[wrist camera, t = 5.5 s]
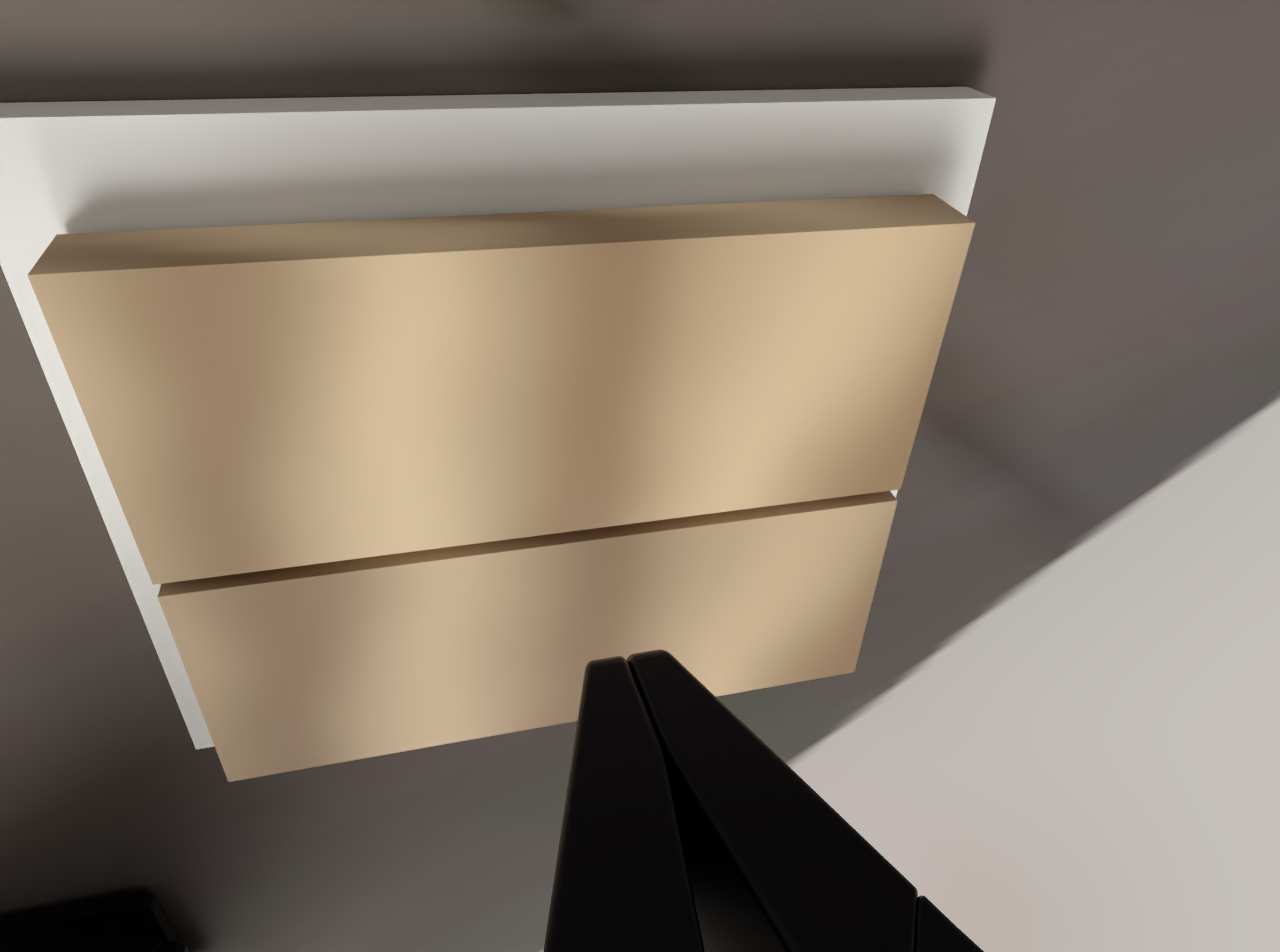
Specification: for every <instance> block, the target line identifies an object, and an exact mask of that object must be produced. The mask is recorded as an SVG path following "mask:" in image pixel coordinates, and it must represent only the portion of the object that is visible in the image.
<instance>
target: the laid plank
mask: <svg viewBox="0 0 1280 952" xmlns="http://www.w3.org/2000/svg"><path fill="white" fill-rule="evenodd" d="M897 501H898V500H897V499H896V498H895V496H894V495H893V494H892V493H891V492H890V491H884V492H876V493H868V494H860V495H852V496H844V497H837V498H829V499H821V500H813V501H805V502H797V503H790V504H782V505H774V506H766V507H758V508H750V509H743V510H735V511H727V512H719V513H711V514H703V515H696V516H688V517H680V518H672V519H664V520H656V521H649V522H641V523H633V524H625V525H617V526H609V527H602V528H594V529H586V530H578V531H570V532H562V533H555V534H547V535H539V536H531V537H523V538H515V539H507V540H500V541H492V542H484V543H476V544H468V545H460V546H453V547H445V548H437V549H429V550H421V551H413V552H406V553H398V554H390V555H382V556H374V557H366V558H359V559H351V560H343V561H335V562H327V563H319V564H312V565H304V566H296V567H288V568H280V569H272V570H265V571H257V572H249V573H241V574H233V575H225V576H218V577H210V578H202V579H194V580H186V581H178V582H170V583H163V584H161V587H160V590H159V594H158V599H159V602H160V605H161V607H162V610H163V613H164V615H165V618H166V620H167V623H168V626H169V628H170V631H171V633H172V636H173V639H174V641H175V644H176V647H177V649H178V652H179V654H180V657H181V660H182V662H183V665H184V667H185V670H186V673H187V675H188V678H189V680H190V683H191V686H192V688H193V691H194V694H195V696H196V699H197V701H198V704H199V707H200V709H201V712H202V714H203V717H204V720H205V722H206V725H207V727H208V730H209V733H210V735H211V738H212V741H213V743H214V746H215V748H216V751H217V754H218V756H219V759H220V761H221V764H222V767H223V769H224V772H225V774H226V777H227V780H228V782H232V781H238V780H244V779H249V778H255V777H261V776H266V775H272V774H278V773H283V772H289V771H295V770H300V769H306V768H312V767H317V766H323V765H329V764H335V763H340V762H346V761H352V760H357V759H363V758H369V757H374V756H380V755H386V754H391V753H397V752H403V751H408V750H414V749H420V748H426V747H431V746H437V745H443V744H448V743H454V742H460V741H465V740H471V739H477V738H482V737H488V736H494V735H499V734H505V733H511V732H516V731H522V730H528V729H534V728H539V727H545V726H551V725H556V724H562V723H568V722H573V721H577V720H578V713H579V706H580V699H581V693H582V686H583V679H584V672H585V667H586V665H587V663H588V662H589V661H592V660H598V659H604V658H610V657H616V656H622V657H624V658H625V659H626V660H627V658H628V657H629V656H630V655H631V654H634V653H641V652H647V651H653V650H665V651H668V652H669V653H670V654H672V655H673V656H674V657H675V658H676V659H677V660H678V661H679V662H680V663H681V664H682V665H683V666H684V667H685V668H686V669H687V670H688V671H689V672H690V673H691V674H693V675H694V676H695V677H696V678H697V679H698V680H699V681H700V682H701V683H702V684H703V685H704V686H705V687H706V688H707V689H708V690H709V691H710V692H711V693H712V694H713V695H714V696H721V695H727V694H733V693H738V692H744V691H750V690H755V689H761V688H767V687H772V686H778V685H784V684H789V683H795V682H801V681H806V680H812V679H818V678H824V677H829V676H835V675H841V674H846V673H852V672H854V671H855V667H856V663H857V659H858V655H859V651H860V647H861V643H862V639H863V635H864V631H865V627H866V623H867V619H868V615H869V611H870V608H871V604H872V600H873V596H874V592H875V588H876V584H877V580H878V576H879V572H880V568H881V564H882V560H883V556H884V552H885V548H886V544H887V540H888V537H889V533H890V529H891V525H892V521H893V517H894V513H895V509H896V505H897Z"/></svg>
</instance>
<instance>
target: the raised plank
mask: <svg viewBox="0 0 1280 952" xmlns="http://www.w3.org/2000/svg"><path fill="white" fill-rule="evenodd" d="M974 226H975V222H974V221H972V220H971V219H969V218H968V217H966V216H965V215H963V214H962V213H961V212H959V211H958V210H956V209H955V208H953V207H952V206H950V205H949V204H947V203H946V202H944V201H943V200H942V199H940V198H939V197H937V196H936V195H934V194H919V195H897V196H876V197H854V198H832V199H811V200H789V201H768V202H746V203H724V204H703V205H681V206H660V207H638V208H617V209H595V210H573V211H552V212H530V213H509V214H487V215H465V216H444V217H422V218H401V219H379V220H357V221H336V222H314V223H293V224H271V225H249V226H228V227H206V228H185V229H163V230H142V231H120V232H98V233H77V234H57V235H56V236H55V237H54V239H53V240H52V242H51V243H50V244H49V246H48V247H47V248H46V250H45V251H44V253H43V254H42V255H41V257H40V258H39V260H38V261H37V262H36V264H35V265H34V266H33V268H32V269H31V271H30V272H29V273H28V278H29V280H30V283H31V285H32V288H33V290H34V293H35V295H36V298H37V300H38V302H39V305H40V307H41V310H42V312H43V315H44V317H45V320H46V322H47V325H48V327H49V330H50V332H51V335H52V337H53V339H54V342H55V344H56V347H57V349H58V352H59V354H60V357H61V359H62V362H63V364H64V367H65V369H66V372H67V374H68V377H69V379H70V381H71V384H72V386H73V389H74V391H75V394H76V396H77V399H78V401H79V404H80V406H81V409H82V411H83V414H84V416H85V418H86V421H87V423H88V426H89V428H90V431H91V433H92V436H93V438H94V441H95V443H96V446H97V448H98V451H99V453H100V456H101V458H102V460H103V463H104V465H105V468H106V470H107V473H108V475H109V478H110V480H111V483H112V485H113V488H114V490H115V493H116V495H117V497H118V500H119V502H120V505H121V507H122V510H123V512H124V515H125V517H126V520H127V522H128V525H129V527H130V530H131V532H132V535H133V537H134V539H135V542H136V544H137V547H138V549H139V552H140V554H141V557H142V559H143V562H144V564H145V567H146V569H147V572H148V574H149V576H150V579H151V581H152V584H153V585H155V584H163V583H170V582H178V581H186V580H194V579H202V578H210V577H218V576H225V575H233V574H241V573H249V572H257V571H265V570H272V569H280V568H288V567H296V566H304V565H312V564H319V563H327V562H335V561H343V560H351V559H359V558H366V557H374V556H382V555H390V554H398V553H406V552H413V551H421V550H429V549H437V548H445V547H453V546H460V545H468V544H476V543H484V542H492V541H500V540H507V539H515V538H523V537H531V536H539V535H547V534H555V533H562V532H570V531H578V530H586V529H594V528H602V527H609V526H617V525H625V524H633V523H641V522H649V521H656V520H664V519H672V518H680V517H688V516H696V515H703V514H711V513H719V512H727V511H735V510H743V509H750V508H758V507H766V506H774V505H782V504H790V503H797V502H805V501H813V500H821V499H829V498H837V497H844V496H852V495H860V494H868V493H876V492H884V491H891V490H899V489H901V486H902V482H903V479H904V475H905V471H906V468H907V464H908V461H909V457H910V454H911V450H912V447H913V443H914V439H915V436H916V432H917V429H918V425H919V422H920V418H921V415H922V411H923V407H924V404H925V400H926V397H927V393H928V390H929V386H930V383H931V379H932V376H933V372H934V368H935V365H936V361H937V358H938V354H939V351H940V347H941V344H942V340H943V336H944V333H945V329H946V326H947V322H948V319H949V315H950V312H951V308H952V305H953V301H954V297H955V294H956V290H957V287H958V283H959V280H960V276H961V273H962V269H963V265H964V262H965V258H966V255H967V251H968V248H969V244H970V241H971V237H972V233H973V230H974Z"/></svg>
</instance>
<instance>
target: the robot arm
mask: <svg viewBox="0 0 1280 952" xmlns="http://www.w3.org/2000/svg"><path fill="white" fill-rule="evenodd" d="M917 896H918V893H917V889H916V888H915V887H914V886H913V885H912V884H911V883H910V882H909V881H908V880H907V879H906V878H905V877H904V876H903V875H902V874H901V873H900V872H899V871H897V870H896V869H895V868H894V867H893V866H892V865H891V864H890V863H889V862H888V861H887V860H886V859H885V858H884V857H883V856H882V855H881V854H880V853H878V851H877V850H875V849H874V848H873V847H872V846H871V845H870V844H869V843H868V842H867V841H866V840H865V839H864V838H863V837H862V836H861V835H860V834H859V833H858V832H857V831H856V830H855V829H853V828H852V827H851V826H850V825H849V824H848V823H847V822H846V821H845V820H844V819H843V818H842V817H841V816H840V815H839V814H838V813H837V812H836V811H835V810H834V809H833V808H831V807H830V805H828V804H827V803H826V802H825V801H824V800H823V799H822V798H821V797H820V796H819V795H818V794H817V793H816V792H815V791H814V790H813V789H812V788H811V787H810V786H809V785H808V784H806V783H805V782H804V781H803V780H802V779H801V778H800V777H799V776H798V775H797V774H796V773H795V772H794V771H793V770H792V769H791V768H790V767H789V766H788V765H787V764H786V763H785V762H783V761H782V760H781V759H780V758H779V757H778V756H777V755H776V754H775V753H774V752H773V751H772V750H771V749H770V748H769V747H768V746H767V745H766V744H765V743H764V742H763V741H762V740H760V739H759V738H758V737H757V736H756V735H755V734H754V733H753V732H752V731H751V730H750V729H749V728H748V727H747V726H746V725H745V724H744V723H743V722H742V721H741V720H740V719H739V718H737V717H736V716H735V715H734V714H733V713H732V712H731V711H730V710H729V709H728V708H727V707H726V706H725V705H724V704H723V703H722V702H721V701H720V700H719V699H718V698H717V697H716V696H714V695H713V694H712V693H711V692H710V691H709V690H708V689H707V688H706V687H705V686H704V685H703V684H702V683H701V682H700V681H699V680H698V679H697V678H696V677H695V676H694V675H693V674H691V673H690V672H689V671H688V670H687V669H686V668H685V667H684V666H683V665H682V664H681V663H680V662H679V661H678V660H677V659H676V658H675V657H674V656H673V655H672V654H670V653H669V652H668V651H665V650H653V651H647V652H641V653H634V654H631V655H630V656H629V657H628V658H627V660H626V659H625V658H624V657H622V656H616V657H610V658H604V659H598V660H592V661H589V662H588V663H587V665H586V667H585V672H584V679H583V686H582V693H581V699H580V706H579V713H578V720H577V727H576V734H575V740H574V747H573V754H572V761H571V768H570V775H569V781H568V788H567V795H566V802H565V809H564V816H563V823H562V829H561V836H560V843H559V850H558V857H557V864H556V870H555V877H554V884H553V891H552V898H551V905H550V911H549V918H548V925H547V932H546V939H545V946H544V952H984V951H983V950H981V949H980V948H979V947H978V946H977V945H976V944H975V943H974V942H973V941H972V940H970V939H969V938H968V937H967V936H966V935H965V934H964V933H963V932H962V931H961V930H960V929H958V928H957V927H956V926H955V925H954V924H953V923H952V922H951V921H950V920H949V919H948V918H947V917H946V916H945V915H944V914H943V913H942V912H940V910H939V909H937V908H936V907H935V906H934V905H933V904H932V903H931V902H930V901H929V900H928V899H927V898H926V897H925V896H919V897H918V898H917ZM0 952H189V950H188V948H187V946H186V945H184V944H183V943H182V942H181V941H180V940H178V939H177V937H176V935H175V933H174V931H173V929H172V928H171V926H170V924H169V922H168V920H167V918H166V916H165V914H164V912H163V910H162V908H161V907H160V905H159V903H158V901H157V899H156V898H155V897H154V896H153V895H151V894H148V893H142V892H136V893H129V894H123V895H118V896H113V897H108V898H103V899H98V900H93V901H88V902H83V903H78V904H73V905H68V906H63V907H58V908H52V909H47V910H42V911H37V912H32V913H27V914H22V915H17V916H12V917H7V918H2V919H0Z"/></svg>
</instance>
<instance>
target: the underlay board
mask: <svg viewBox="0 0 1280 952" xmlns="http://www.w3.org/2000/svg"><path fill="white" fill-rule="evenodd" d="M995 101H996V98H995V97H992V96H990V95H987V94H984V93H982V92H979V91H977V90H974V89H972V88H969V87H922V88H862V89H801V90H741V91H681V92H621V93H560V94H500V95H440V96H380V97H319V98H259V99H199V100H139V101H78V102H18V103H0V265H1V267H2V270H3V272H4V275H5V277H6V280H7V282H8V285H9V287H10V290H11V292H12V295H13V297H14V300H15V302H16V304H17V307H18V309H19V312H20V314H21V317H22V319H23V322H24V324H25V327H26V329H27V332H28V334H29V337H30V339H31V342H32V344H33V347H34V349H35V352H36V354H37V357H38V359H39V362H40V364H41V366H42V369H43V371H44V374H45V376H46V379H47V381H48V384H49V386H50V389H51V391H52V394H53V396H54V399H55V401H56V404H57V406H58V409H59V411H60V414H61V416H62V419H63V421H64V423H65V426H66V428H67V431H68V433H69V436H70V438H71V441H72V443H73V446H74V448H75V451H76V453H77V456H78V458H79V461H80V463H81V466H82V468H83V471H84V473H85V476H86V478H87V480H88V483H89V485H90V488H91V490H92V493H93V495H94V498H95V500H96V503H97V505H98V508H99V510H100V513H101V515H102V518H103V520H104V523H105V525H106V528H107V530H108V533H109V535H110V538H111V540H112V542H113V545H114V547H115V550H116V552H117V555H118V557H119V560H120V562H121V565H122V567H123V570H124V572H125V575H126V577H127V580H128V582H129V585H130V587H131V590H132V592H133V595H134V597H135V599H136V602H137V604H138V607H139V609H140V612H141V614H142V617H143V619H144V622H145V624H146V627H147V629H148V632H149V634H150V637H151V639H152V642H153V644H154V647H155V649H156V652H157V654H158V657H159V659H160V661H161V664H162V666H163V669H164V671H165V674H166V676H167V679H168V681H169V684H170V686H171V689H172V691H173V694H174V696H175V699H176V701H177V704H178V706H179V709H180V711H181V714H182V716H183V718H184V721H185V723H186V726H187V728H188V731H189V733H190V736H191V738H192V741H193V743H194V746H195V748H196V749H202V748H208V747H214V743H213V741H212V738H211V735H210V733H209V730H208V727H207V725H206V722H205V720H204V717H203V714H202V712H201V709H200V707H199V704H198V701H197V699H196V696H195V694H194V691H193V688H192V686H191V683H190V680H189V678H188V675H187V673H186V670H185V667H184V665H183V662H182V660H181V657H180V654H179V652H178V649H177V647H176V644H175V641H174V639H173V636H172V633H171V631H170V628H169V626H168V623H167V620H166V618H165V615H164V613H163V610H162V607H161V605H160V602H159V599H158V594H159V590H160V587H161V584H155V585H153V584H152V581H151V579H150V576H149V574H148V572H147V569H146V567H145V564H144V562H143V559H142V557H141V554H140V552H139V549H138V547H137V544H136V542H135V539H134V537H133V535H132V532H131V530H130V527H129V525H128V522H127V520H126V517H125V515H124V512H123V510H122V507H121V505H120V502H119V500H118V497H117V495H116V493H115V490H114V488H113V485H112V483H111V480H110V478H109V475H108V473H107V470H106V468H105V465H104V463H103V460H102V458H101V456H100V453H99V451H98V448H97V446H96V443H95V441H94V438H93V436H92V433H91V431H90V428H89V426H88V423H87V421H86V418H85V416H84V414H83V411H82V409H81V406H80V404H79V401H78V399H77V396H76V394H75V391H74V389H73V386H72V384H71V381H70V379H69V377H68V374H67V372H66V369H65V367H64V364H63V362H62V359H61V357H60V354H59V352H58V349H57V347H56V344H55V342H54V339H53V337H52V335H51V332H50V330H49V327H48V325H47V322H46V320H45V317H44V315H43V312H42V310H41V307H40V305H39V302H38V300H37V298H36V295H35V293H34V290H33V288H32V285H31V283H30V280H29V278H28V273H29V272H30V271H31V269H32V268H33V266H34V265H35V264H36V262H37V261H38V260H39V258H40V257H41V255H42V254H43V253H44V251H45V250H46V248H47V247H48V246H49V244H50V243H51V242H52V240H53V239H54V237H55V236H56V235H57V234H77V233H98V232H120V231H142V230H163V229H185V228H206V227H228V226H249V225H271V224H293V223H314V222H336V221H357V220H379V219H401V218H422V217H444V216H465V215H487V214H509V213H530V212H552V211H573V210H595V209H617V208H638V207H660V206H681V205H703V204H724V203H746V202H768V201H789V200H811V199H832V198H854V197H876V196H897V195H919V194H934V195H936V196H937V197H939V198H940V199H942V200H943V201H944V202H946V203H947V204H949V205H950V206H952V207H953V208H955V209H956V210H958V211H959V212H961V213H962V214H963V215H965V216H966V217H967V213H968V209H969V205H970V201H971V197H972V193H973V189H974V185H975V181H976V177H977V173H978V169H979V165H980V161H981V157H982V153H983V149H984V145H985V141H986V137H987V133H988V129H989V125H990V121H991V117H992V113H993V109H994V105H995ZM897 491H898V490H891V491H890V492H891V493H892V494H893V495H894V496H895V498H896V495H897Z"/></svg>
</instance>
